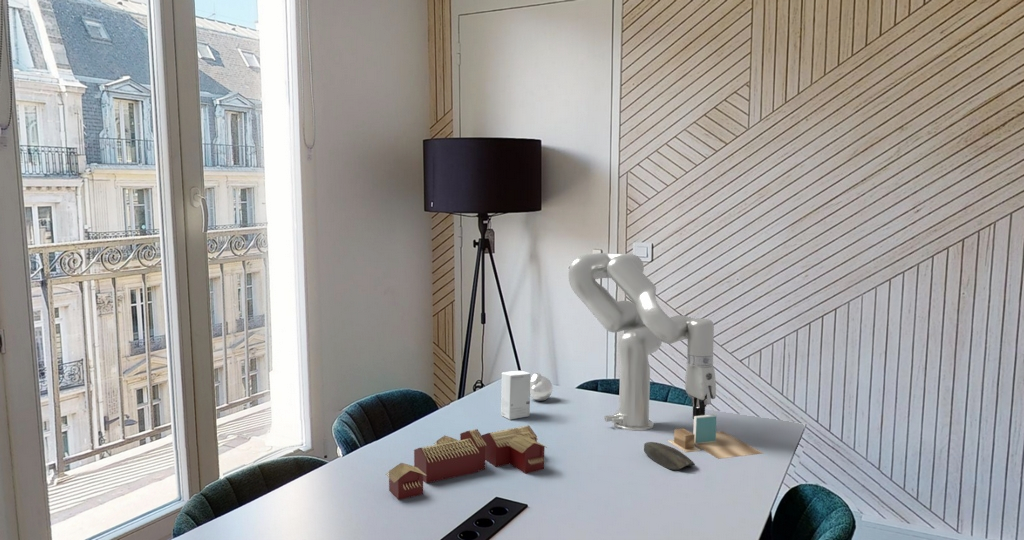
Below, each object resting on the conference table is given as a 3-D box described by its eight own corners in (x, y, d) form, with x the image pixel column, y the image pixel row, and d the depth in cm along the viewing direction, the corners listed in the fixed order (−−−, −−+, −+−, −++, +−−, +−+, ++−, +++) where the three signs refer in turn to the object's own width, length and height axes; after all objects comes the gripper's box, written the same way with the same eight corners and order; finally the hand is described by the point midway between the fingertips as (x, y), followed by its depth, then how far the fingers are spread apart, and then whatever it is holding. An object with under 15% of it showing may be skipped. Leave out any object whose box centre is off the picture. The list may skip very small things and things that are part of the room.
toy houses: (516, 447, 209) (516, 413, 208) (555, 470, 191) (556, 434, 190) (369, 477, 186) (368, 439, 185) (398, 506, 168) (398, 465, 167)
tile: (695, 444, 210) (696, 417, 209) (693, 442, 212) (694, 416, 211) (716, 441, 212) (717, 415, 212) (713, 440, 214) (714, 414, 213)
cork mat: (718, 460, 199) (718, 458, 199) (680, 437, 218) (680, 435, 217) (763, 455, 203) (763, 453, 203) (722, 432, 222) (722, 431, 222)
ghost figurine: (527, 396, 261) (527, 369, 260) (552, 397, 260) (553, 370, 259) (525, 403, 252) (525, 375, 251) (551, 404, 251) (552, 376, 250)
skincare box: (509, 420, 233) (509, 375, 232) (499, 415, 238) (500, 372, 237) (530, 416, 238) (531, 372, 236) (520, 411, 243) (521, 368, 241)
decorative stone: (697, 471, 191) (698, 456, 191) (679, 476, 188) (680, 460, 188) (655, 451, 206) (655, 437, 206) (638, 455, 203) (638, 441, 202)
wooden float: (685, 455, 204) (686, 438, 203) (667, 443, 213) (667, 427, 212) (700, 453, 205) (701, 436, 205) (682, 442, 215) (682, 425, 214)
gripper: (725, 364, 207) (724, 425, 209) (696, 354, 222) (695, 411, 223) (703, 366, 205) (702, 428, 207) (675, 355, 219) (674, 413, 221)
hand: (698, 419), depth 215 cm, fingers closed
